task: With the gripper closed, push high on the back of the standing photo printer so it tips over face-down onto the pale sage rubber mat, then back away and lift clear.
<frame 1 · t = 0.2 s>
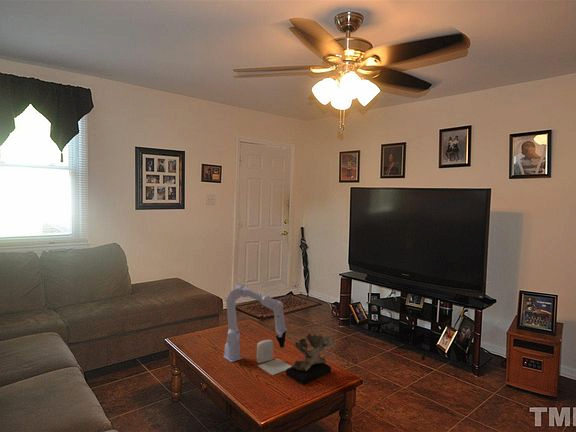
hand: (282, 344, 221), 11 cm above the table, tool pointing down, fingers open, 7 cm apart
coral: (314, 375, 207), on the table
photo printer: (264, 361, 224), on the table
mat: (275, 366, 216), on the table
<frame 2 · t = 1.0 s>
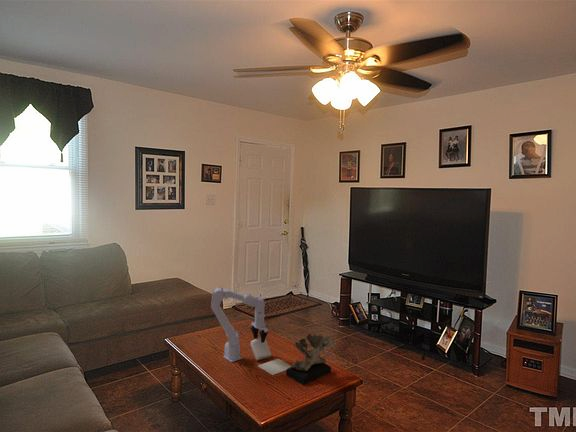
hand: (259, 340, 228), 10 cm above the table, tool pointing down, fingers open, 7 cm apart
photo printer: (264, 358, 224), point 1 cm above the table, touching gripper
everything else where it was.
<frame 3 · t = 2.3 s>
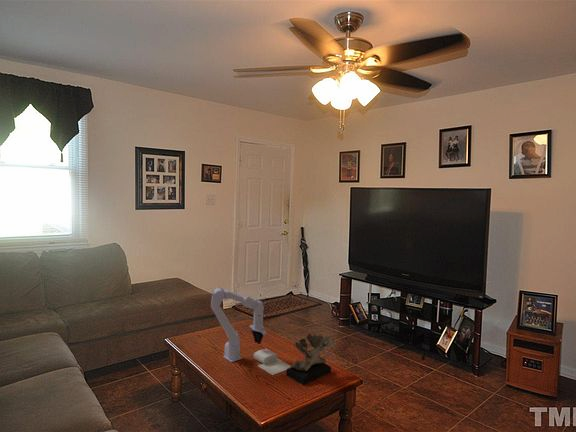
hand: (257, 342, 229), 8 cm above the table, tool pointing down, fingers closed
photo printer: (271, 359, 220), point 3 cm above the table, touching mat
everything else where it was.
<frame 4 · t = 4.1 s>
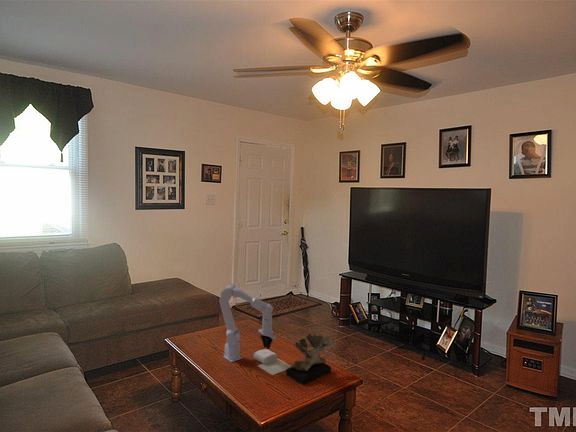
hand: (266, 347, 222), 8 cm above the table, tool pointing down, fingers closed
nothing on the table moved.
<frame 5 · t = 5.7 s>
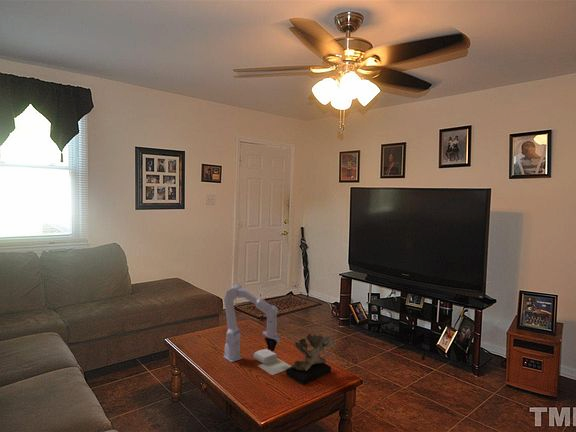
hand: (271, 350, 219), 8 cm above the table, tool pointing down, fingers closed
nothing on the table moved.
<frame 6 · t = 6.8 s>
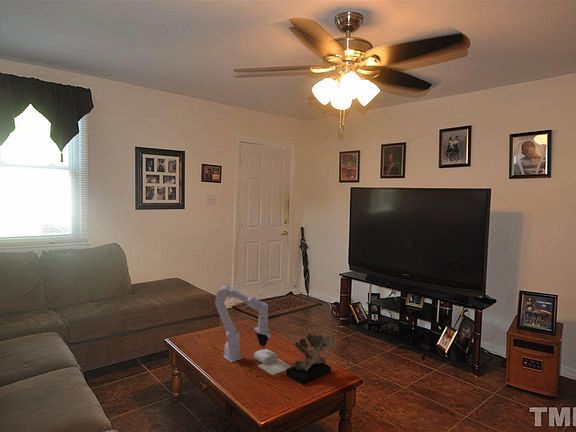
hand: (262, 345, 225), 8 cm above the table, tool pointing down, fingers closed
nothing on the table moved.
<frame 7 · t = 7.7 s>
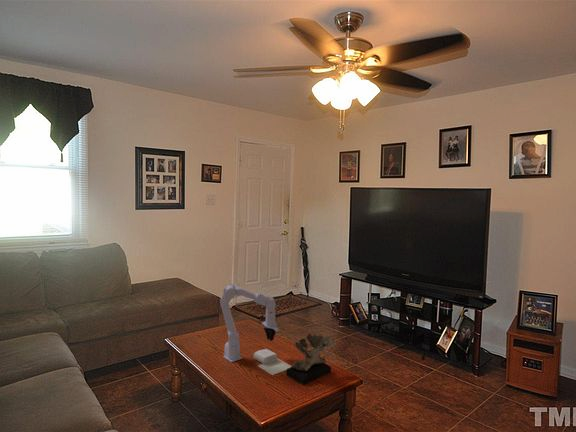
hand: (270, 339, 228), 11 cm above the table, tool pointing down, fingers closed
nothing on the table moved.
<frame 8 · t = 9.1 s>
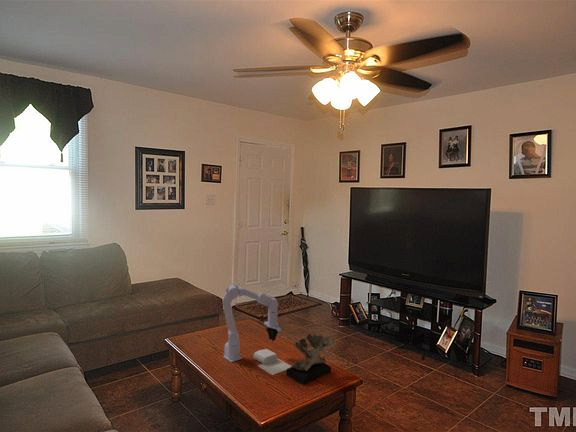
hand: (272, 339, 229), 10 cm above the table, tool pointing down, fingers closed
nothing on the table moved.
at the end: photo printer tilted 92°; photo printer touching mat, table; photo printer moved 5.9 cm from its start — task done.
